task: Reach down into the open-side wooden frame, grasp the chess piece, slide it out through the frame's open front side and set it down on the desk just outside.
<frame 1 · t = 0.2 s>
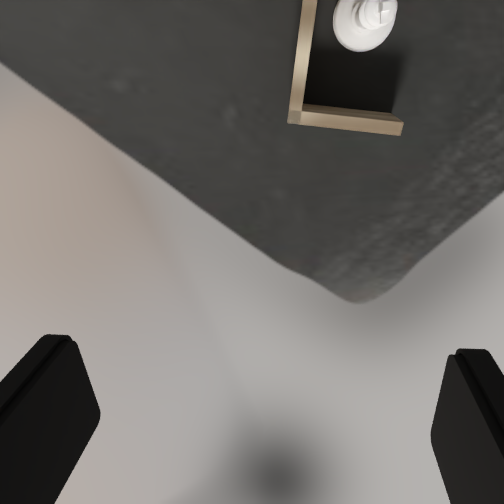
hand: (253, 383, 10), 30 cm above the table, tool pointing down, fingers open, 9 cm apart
chess piece: (363, 18, 31), on the table
open-side wooden frame: (363, 17, 31), on the table
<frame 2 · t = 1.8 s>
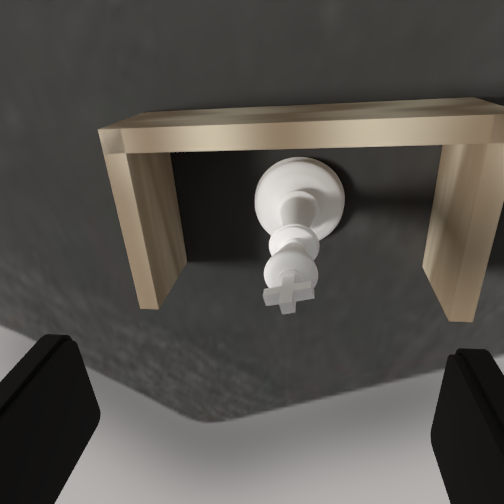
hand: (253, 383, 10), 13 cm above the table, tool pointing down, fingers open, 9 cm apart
chess piece: (299, 199, 21), on the table
open-side wooden frame: (298, 201, 21), on the table
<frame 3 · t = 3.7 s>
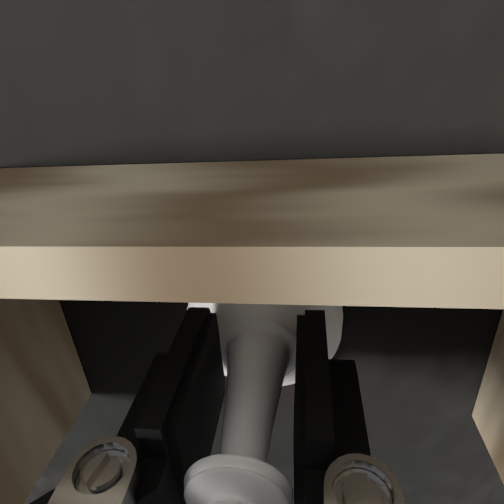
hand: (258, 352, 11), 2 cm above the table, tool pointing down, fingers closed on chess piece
chess piece: (264, 312, 12), on the table, touching gripper
open-side wooden frame: (264, 316, 12), on the table
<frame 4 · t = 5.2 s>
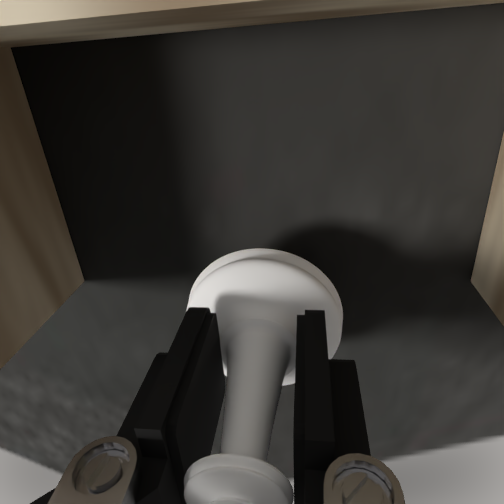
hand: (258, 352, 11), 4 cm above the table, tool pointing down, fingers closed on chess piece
chess piece: (264, 312, 12), point 2 cm above the table, touching gripper
open-side wooden frame: (257, 172, 12), on the table
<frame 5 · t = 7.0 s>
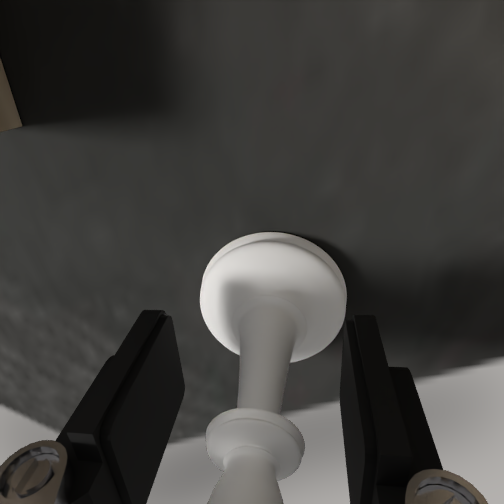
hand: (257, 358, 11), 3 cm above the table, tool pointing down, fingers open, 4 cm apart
chess piece: (273, 293, 13), on the table
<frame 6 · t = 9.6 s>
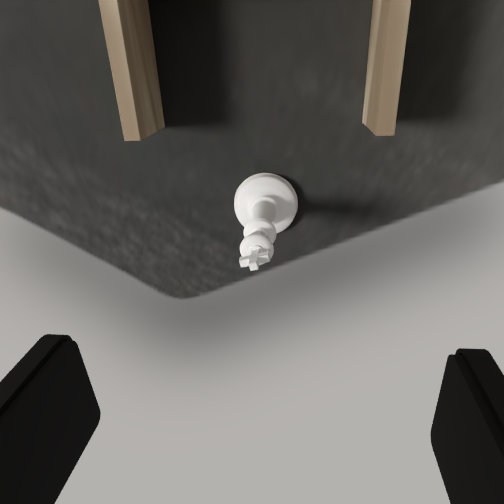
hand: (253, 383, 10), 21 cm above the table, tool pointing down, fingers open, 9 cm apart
chess piece: (266, 202, 30), on the table
open-side wooden frame: (259, 61, 25), on the table
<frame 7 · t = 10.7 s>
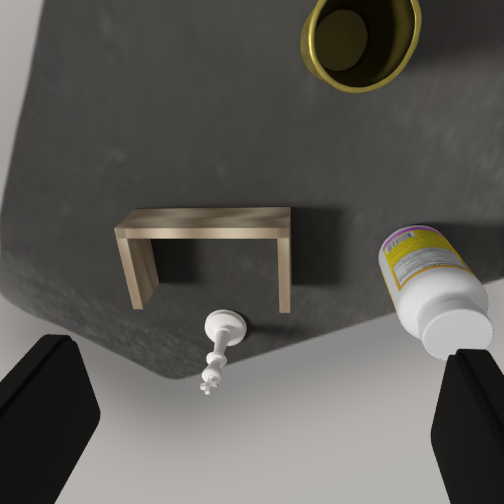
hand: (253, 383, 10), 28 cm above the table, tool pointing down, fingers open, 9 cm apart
supplement bottle: (411, 251, 38), on the table
chess piece: (226, 325, 45), on the table
vase: (338, 41, 31), on the table
open-side wooden frame: (215, 252, 41), on the table
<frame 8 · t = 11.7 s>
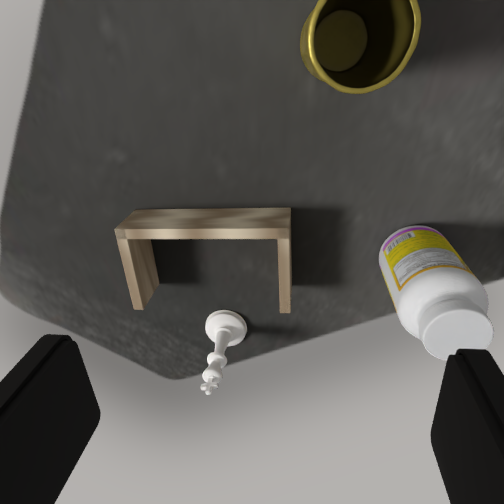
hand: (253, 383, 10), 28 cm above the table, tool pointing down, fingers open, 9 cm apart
supplement bottle: (411, 252, 38), on the table
chess piece: (226, 325, 45), on the table
vase: (338, 41, 31), on the table
open-side wooden frame: (216, 252, 41), on the table
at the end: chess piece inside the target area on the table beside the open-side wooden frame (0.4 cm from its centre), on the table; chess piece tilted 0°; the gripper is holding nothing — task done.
